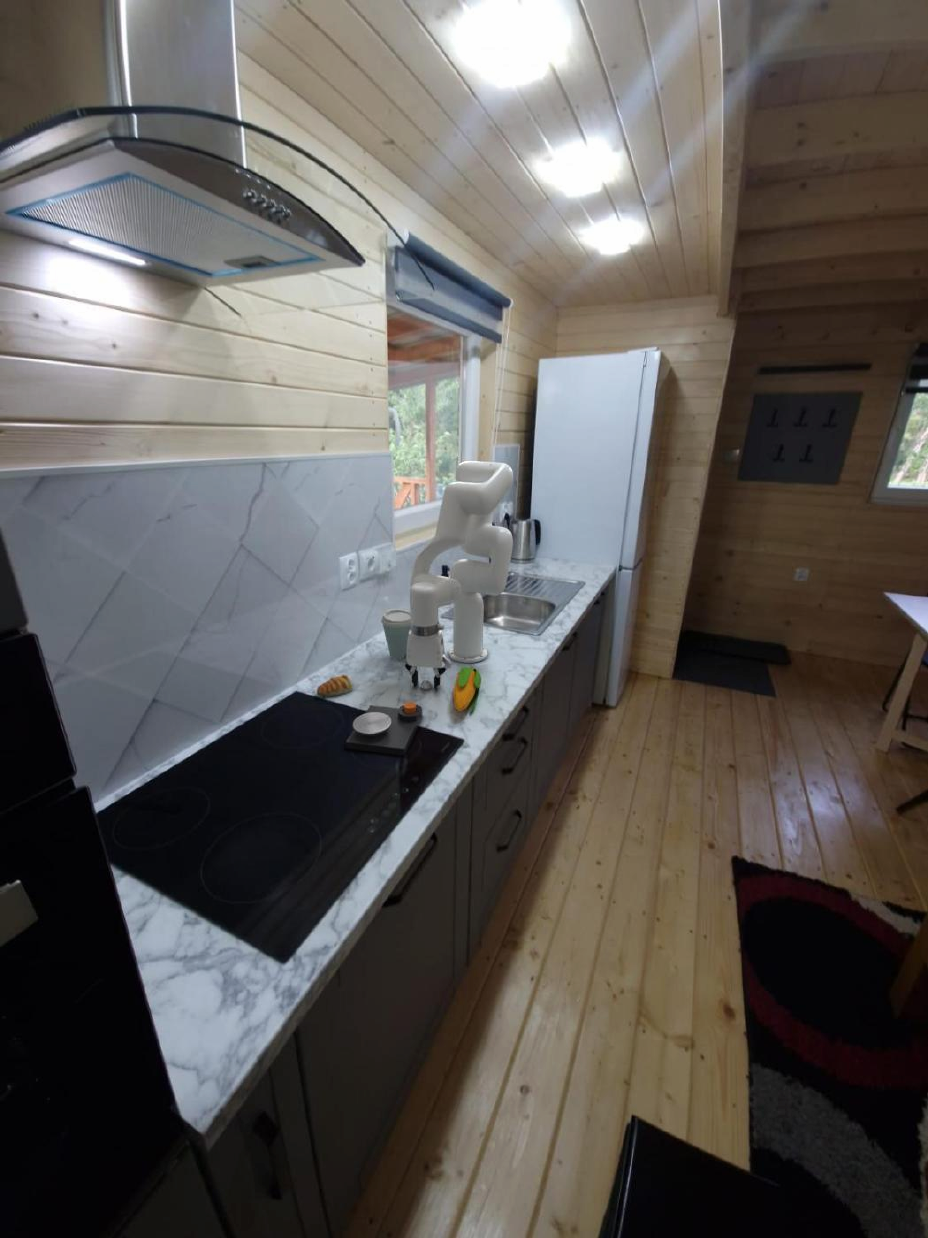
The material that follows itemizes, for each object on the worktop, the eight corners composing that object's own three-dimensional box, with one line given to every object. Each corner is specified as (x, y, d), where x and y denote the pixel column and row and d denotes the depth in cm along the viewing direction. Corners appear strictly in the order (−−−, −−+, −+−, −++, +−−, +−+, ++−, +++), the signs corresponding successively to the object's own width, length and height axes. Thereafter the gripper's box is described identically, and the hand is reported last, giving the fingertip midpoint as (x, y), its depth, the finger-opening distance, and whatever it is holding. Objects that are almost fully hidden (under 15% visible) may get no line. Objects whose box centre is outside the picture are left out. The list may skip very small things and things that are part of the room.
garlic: (433, 684, 143) (433, 676, 142) (429, 691, 139) (429, 683, 138) (422, 683, 143) (422, 675, 142) (418, 690, 140) (418, 681, 139)
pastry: (323, 701, 133) (321, 689, 132) (313, 692, 138) (311, 679, 137) (355, 690, 139) (353, 678, 137) (344, 681, 144) (343, 670, 142)
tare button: (406, 707, 125) (405, 701, 125) (417, 708, 125) (417, 702, 124) (402, 713, 123) (402, 707, 122) (414, 715, 122) (414, 708, 122)
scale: (371, 710, 130) (370, 698, 128) (424, 716, 127) (424, 704, 126) (346, 748, 115) (345, 736, 113) (406, 756, 112) (405, 743, 111)
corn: (482, 659, 140) (474, 695, 122) (483, 683, 143) (476, 722, 125) (456, 659, 141) (445, 695, 123) (458, 682, 144) (447, 721, 126)
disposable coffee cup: (421, 651, 162) (420, 609, 157) (410, 666, 153) (408, 621, 147) (391, 648, 165) (389, 605, 159) (378, 662, 155) (375, 618, 149)
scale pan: (361, 712, 122) (361, 710, 122) (396, 716, 121) (396, 714, 121) (346, 733, 114) (346, 731, 114) (384, 738, 113) (383, 735, 112)
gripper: (458, 625, 136) (458, 682, 143) (398, 620, 139) (401, 677, 146) (452, 636, 129) (452, 696, 136) (390, 630, 132) (393, 689, 139)
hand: (426, 685), depth 141 cm, fingers open, 5 cm apart
